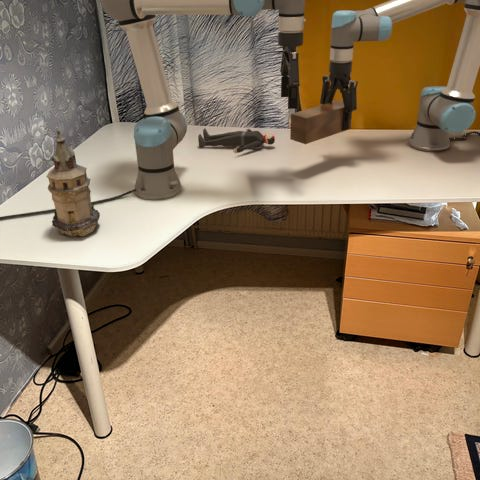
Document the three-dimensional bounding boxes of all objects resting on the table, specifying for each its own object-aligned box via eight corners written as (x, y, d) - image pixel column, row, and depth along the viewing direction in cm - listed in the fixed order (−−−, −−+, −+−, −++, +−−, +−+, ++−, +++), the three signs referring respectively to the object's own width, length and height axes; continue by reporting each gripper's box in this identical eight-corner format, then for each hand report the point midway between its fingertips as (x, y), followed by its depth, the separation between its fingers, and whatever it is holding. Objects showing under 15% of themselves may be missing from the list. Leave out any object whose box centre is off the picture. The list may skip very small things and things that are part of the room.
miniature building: (80, 214, 164) (63, 117, 149) (111, 225, 157) (96, 125, 142) (44, 231, 154) (22, 130, 140) (75, 244, 147) (55, 139, 133)
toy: (208, 122, 226) (279, 122, 220) (210, 136, 230) (279, 136, 223) (191, 142, 204) (269, 142, 198) (193, 157, 207) (270, 158, 201)
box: (305, 144, 178) (306, 118, 174) (290, 139, 183) (290, 113, 178) (350, 128, 191) (352, 104, 187) (335, 124, 196) (337, 100, 191)
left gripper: (312, 37, 149) (308, 113, 159) (295, 25, 170) (293, 92, 181) (285, 38, 148) (283, 114, 158) (272, 25, 170) (271, 93, 180)
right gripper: (372, 63, 175) (365, 131, 187) (325, 55, 189) (322, 119, 200) (357, 66, 171) (352, 136, 182) (311, 58, 184) (308, 123, 196)
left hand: (288, 102), depth 170 cm, fingers open, 13 cm apart
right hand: (336, 127), depth 191 cm, fingers closed on box, 7 cm apart
